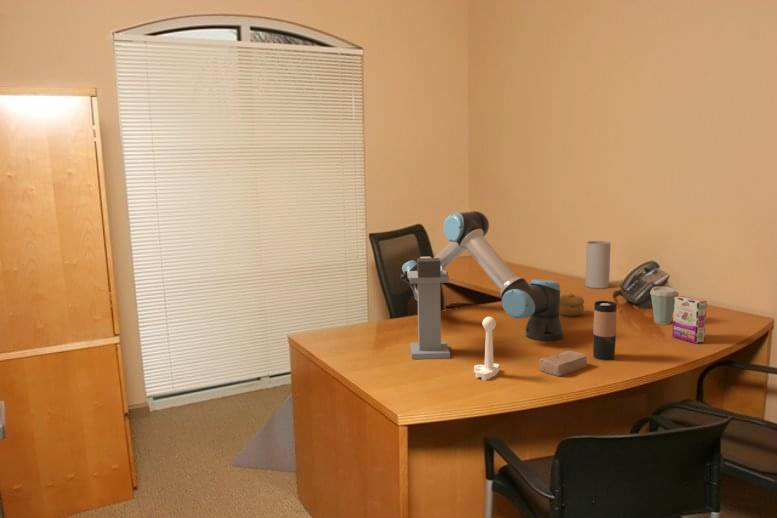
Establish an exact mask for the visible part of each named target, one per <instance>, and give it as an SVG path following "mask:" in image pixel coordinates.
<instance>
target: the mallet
mask: <svg viewBox="0 0 777 518" xmlns="http://www.w3.org/2000/svg"><path fill="white" fill-rule="evenodd" d="M416 260H417V262H416V263H417V273H418V278H432V277H441V267H440V259H439V258H434V257H431V256H420V257H418V258H417V259H416Z"/></svg>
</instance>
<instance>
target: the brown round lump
mask: <svg viewBox="0 0 777 518" xmlns="http://www.w3.org/2000/svg"><path fill="white" fill-rule="evenodd" d="M584 304H585V300H584V299H583V297H581V296H580V295H576V294H573V293H569V294H564V295H560V311H559V314H562V315H564V316H567V317H576V316H577V317H578V316H579V315H581V314H582V313H583V312H584V310H585V306H584Z"/></svg>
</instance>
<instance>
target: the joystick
mask: <svg viewBox="0 0 777 518" xmlns="http://www.w3.org/2000/svg"><path fill="white" fill-rule="evenodd" d="M481 324H482V327H483V329H484V331H485V345H484V350H485V351H484V364H476V365H473V373H475V378H477V379H479V378H481V380H482V381H488V380H490V378H491V377H493V376H494V377H496V376H497V375H498V374H499V372H500V364H499V363H494V344H493V343H494V342H493V341H494V339H493V331H494V329H495V328H496V326H497V323H496V319H495V318H494V317H492V316H487V317H485V318H484V319H483V320H482V323H481ZM497 373H498V374H497ZM496 374H497V375H496ZM495 375H496V376H495ZM494 377H493V378H494ZM487 379H488V380H487ZM491 379H492V378H491Z"/></svg>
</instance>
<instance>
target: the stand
mask: <svg viewBox="0 0 777 518" xmlns="http://www.w3.org/2000/svg"><path fill="white" fill-rule="evenodd" d="M446 272H447V271H446V269H445V270H441V277H432V278H418V273H417V271H409V279H410V283H417V293H418V301H417V331H418V332H417V335H418V337H417V339H418V340H417V341H418V342H417V341H416V342H410V355H411V360H430V359H433V360H435V359H440V360H441V359H442V360H443V359H451V352H450V349H449V346H448V342H447V341H442V333H441V332H442V329H441V328H442V327H441V326H442V323H441V322H442V321H441V316H442V315H441V311H442V310H441V284H442V283H443V284H444V283H450V276H449V273H448V274H447V273H446Z"/></svg>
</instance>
